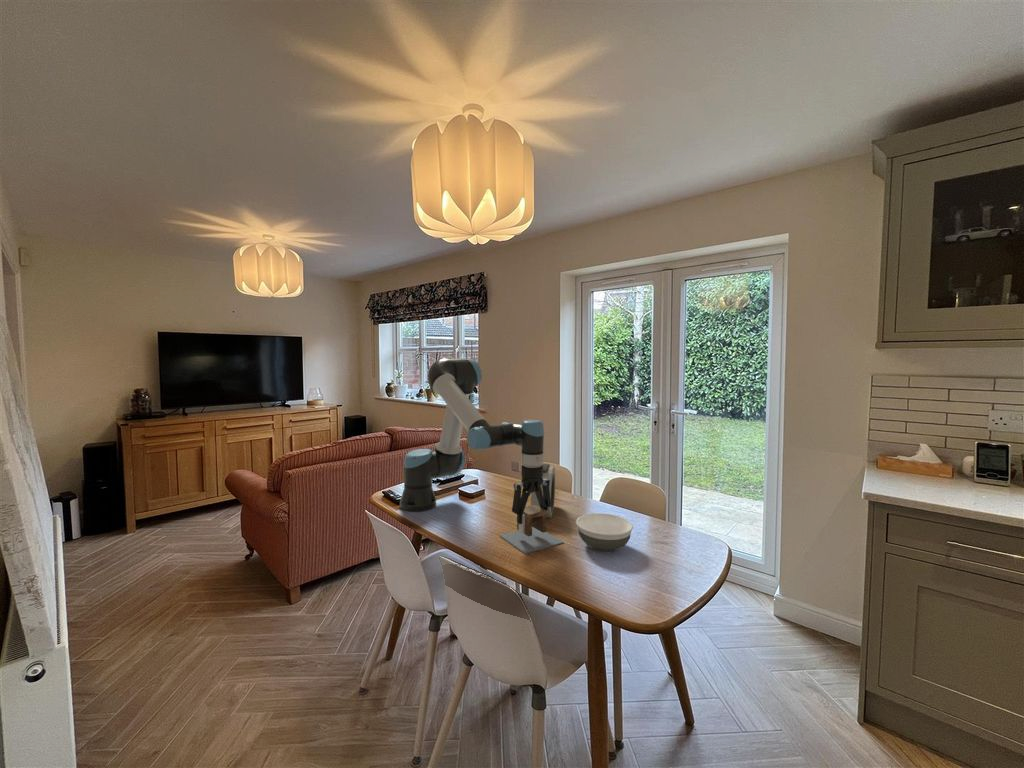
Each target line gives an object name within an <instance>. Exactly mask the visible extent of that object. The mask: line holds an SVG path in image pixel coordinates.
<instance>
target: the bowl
mask: <svg viewBox="0 0 1024 768" xmlns="http://www.w3.org/2000/svg"><path fill="white" fill-rule="evenodd" d="M575 523H576V525H577V529H578V535H579V537H580V539H581V540H582V542H584V543H585V544H586V545H587V546H589V547H591V548H592V550H595V551H596V552H599V553H613V552H616V550H619V549H622V548H623V547H624V546H626V545H627V544H628V542H629V540H630V539H631V534H632V531H633V529H634V526H633V523H632V522H631V521H630V520H628V519H627V518H624V517H622V516H620V515H616V514H611V513H602V512H601V513H598V512H597V513H595V512H594V513H586V514H584V515H581V516H579V517H578V518H577V519H576V521H575Z"/></svg>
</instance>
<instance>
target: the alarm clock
mask: <svg viewBox="0 0 1024 768" xmlns="http://www.w3.org/2000/svg"><path fill="white" fill-rule="evenodd" d="M542 466H543V476H542V478H543V479H544V478H545V479H548V480H550V483H549V491H550V501H551V506H550V507H548V510H546V511H547V518H546V519H551V518H552V516H553V512H554V508H555V503H556V502H555V501H556V469H555V466H550V464H549V463H543V465H542ZM540 487H541V490H542V495H543V488H542V485H541V486H540ZM543 498H544V497H543ZM531 505H536V506H538V507H540V505H539V502H538V499H537V496H536V493H535V492H532V493H531V494H530V506H531ZM540 508H541V507H540Z"/></svg>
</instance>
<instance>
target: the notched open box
mask: <svg viewBox="0 0 1024 768" xmlns="http://www.w3.org/2000/svg"><path fill="white" fill-rule="evenodd" d="M523 514H525V535H527V536H532V527H534V528H536V529H537V530H539V531H541V532H542V533H544V532H547V519H548V518H547V511H546V510H544V509H542V508H540V507H538V506H536V505H531V504H530V505H529V506H528V505H526V506H525V509H524V512H523ZM516 523H517V522H516ZM516 527H517V528H516V529H517V530H516V531H519V523H517V525H516Z"/></svg>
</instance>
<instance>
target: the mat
mask: <svg viewBox="0 0 1024 768" xmlns="http://www.w3.org/2000/svg"><path fill="white" fill-rule="evenodd" d="M499 537H500V538H502V539H503V540H504V541H505V542H507V543H508V544H510V545H512V546H513V547H514V548H515V549H516V550H518V551H519V552H521V553H523V554H524V555H526V554H531V553H534V552H537V551H541V550H544V549H548V548H552V547H555V546H559V545H562V544H564V541H563V540H561V539H560V538H558V537H556V536H554V535H552V534H550V533H549V532H547V531H546V532H544V533H542V532H541V531H539V530H537V529H536V528H534V527H532V536H527V535H525V534H522V533H521V532H519V530H516V531H512V532H508V533H503V534H501V535H499Z"/></svg>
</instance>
